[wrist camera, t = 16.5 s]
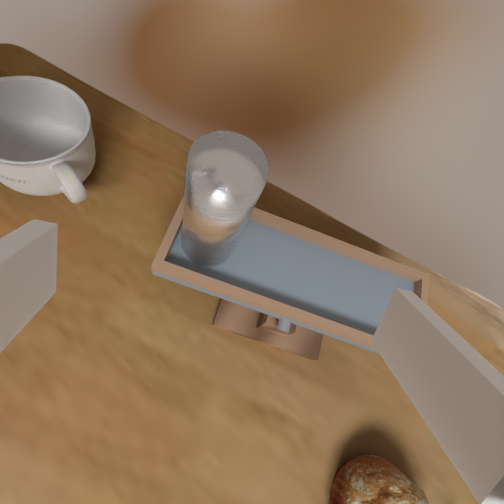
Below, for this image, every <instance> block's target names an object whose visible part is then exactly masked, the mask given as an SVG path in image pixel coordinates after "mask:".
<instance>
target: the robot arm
mask: <svg viewBox="0 0 504 504" xmlns="http://www.w3.org/2000/svg"><path fill="white" fill-rule="evenodd" d="M57 233H58V224H56V223H51V222H45V221H40V220H35V219H33V220H32V221H30V222H28V223H26V224H25V225H23V226H21V227H19V228H18V229H16V230H14V231H12V232H11V233H9V234H7V235H5V236H4V237H2V238H0V353H1V352H2V351H3V350H4V349H5V347H6V346H7V345H8V344H9V343H10V342H11V341H12V340H13V339H14V338H15V337H16V335H17V334H18V333H19V332H20V331H21V330H22V329H23V328H24V327H25V326H26V324H27V323H28V322H29V321H30V320H31V319H32V318H33V317H34V316H35V315H36V314H37V312H38V311H39V310H40V309H41V308H42V307H43V306H44V305H45V304H46V303H47V301H48V300H49V299H50V298H51V297H52V296H53V295H54V294H55V293H56V272H57ZM371 342H372V343H373V345H374V346H375V348H376V349H377V351H378V352H379V354H380V355H381V357H382V358H383V360H384V361H385V363H386V364H387V366H388V367H389V369H390V370H391V372H392V373H393V375H394V376H395V378H396V379H397V381H398V382H399V384H400V386H401V387H402V389H403V390H404V392H405V393H406V395H407V396H408V398H409V399H410V401H411V402H412V404H413V405H414V407H415V408H416V410H417V411H418V413H419V414H420V416H421V417H422V419H423V420H424V422H425V423H426V425H427V426H428V428H429V429H430V431H431V432H432V434H433V435H434V437H435V438H436V440H437V441H438V443H439V444H440V446H441V447H442V449H443V450H444V452H445V453H446V455H447V457H448V458H449V460H450V461H451V463H452V464H453V466H454V467H455V469H456V470H457V472H458V473H459V475H460V476H461V478H462V479H463V481H464V482H465V484H466V485H467V487H468V488H469V490H470V491H471V493H472V494H473V496H474V497H475V499H476V500H477V502H478V503H479V504H504V376H503V375H502V374H501V373H500V372H499V371H498V370H497V369H496V368H494V367H493V366H492V365H491V364H490V363H489V362H488V361H487V360H486V359H485V358H484V357H483V356H482V355H480V354H479V353H478V352H477V351H476V350H475V349H474V348H473V347H472V346H471V345H470V344H469V343H467V342H466V341H465V340H464V339H463V338H462V337H461V336H460V335H459V334H458V333H457V332H456V331H455V330H453V329H452V328H451V327H450V326H449V325H448V324H447V323H446V322H445V321H444V320H443V319H442V318H441V317H439V316H438V315H437V314H436V313H435V312H434V311H433V310H432V309H431V308H430V307H429V306H428V305H427V304H425V303H424V302H423V301H422V300H421V299H420V298H419V297H418V296H417V295H416V294H415V293H414V292H413V291H409V290H404V289H399V288H396V289H395V291H394V293H393V295H392V297H391V299H390V301H389V304H388V306H387V308H386V310H385V312H384V314H383V316H382V319H381V321H380V323H379V325H378V327H377V329H376V331H375V334H374V336H373V338H372V340H371Z"/></svg>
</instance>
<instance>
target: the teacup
mask: <svg viewBox="0 0 504 504" xmlns="http://www.w3.org/2000/svg"><path fill="white" fill-rule="evenodd" d="M95 157H96V150H95V142H94V135H93V131H92V126H91V116H90V112H89V109H88V107H87V105H86V103H85V102H84V100H83V99H82V98H81V97H80V96H79V95H78V94H77V93H76V92H74V91H73V90H72V89H70V88H68V87H67V86H65V85H63V84H61V83H58V82H56V81H53V80H50V79H46V78H42V77H36V76H7V77H0V182H1V183H2V184H4V185H5V186H7V187H9V188H11V189H13V190H15V191H18V192H21V193H24V194H29V195H36V196H50V195H56V194H61V193H64V194H65V195H66V196H67V197H68V199H69V200H70V201H71V202H72V203H80V202H82V201H84V200H85V199H86V198H87V192H86V190H85V188H84V186H83V184H82V182H83V181H84V180H85V179H86V178H87V177H88V176H89V174H90V173H91V171H92V169H93V167H94V164H95Z"/></svg>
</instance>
